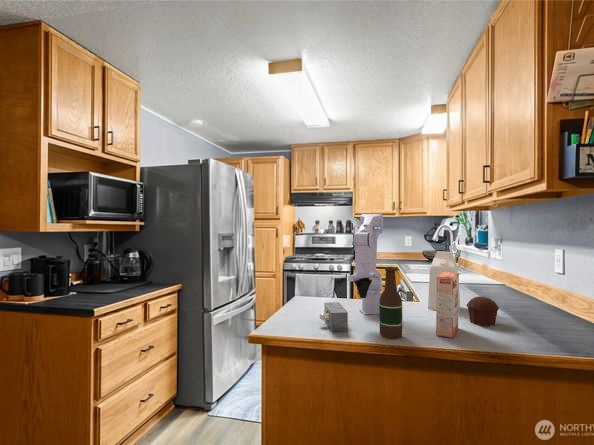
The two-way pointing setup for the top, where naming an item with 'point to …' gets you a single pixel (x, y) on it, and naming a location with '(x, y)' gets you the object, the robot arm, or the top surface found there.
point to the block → (336, 317)
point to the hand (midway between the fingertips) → (362, 297)
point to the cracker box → (447, 304)
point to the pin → (324, 316)
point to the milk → (438, 266)
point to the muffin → (482, 311)
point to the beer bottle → (390, 308)
